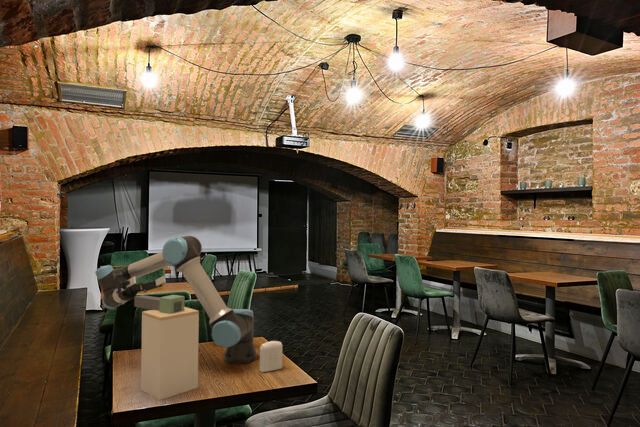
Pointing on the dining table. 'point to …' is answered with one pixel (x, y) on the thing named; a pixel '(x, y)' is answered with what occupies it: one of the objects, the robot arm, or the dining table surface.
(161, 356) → the pedestal
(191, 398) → the dining table surface
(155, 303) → the bar
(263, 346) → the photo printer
